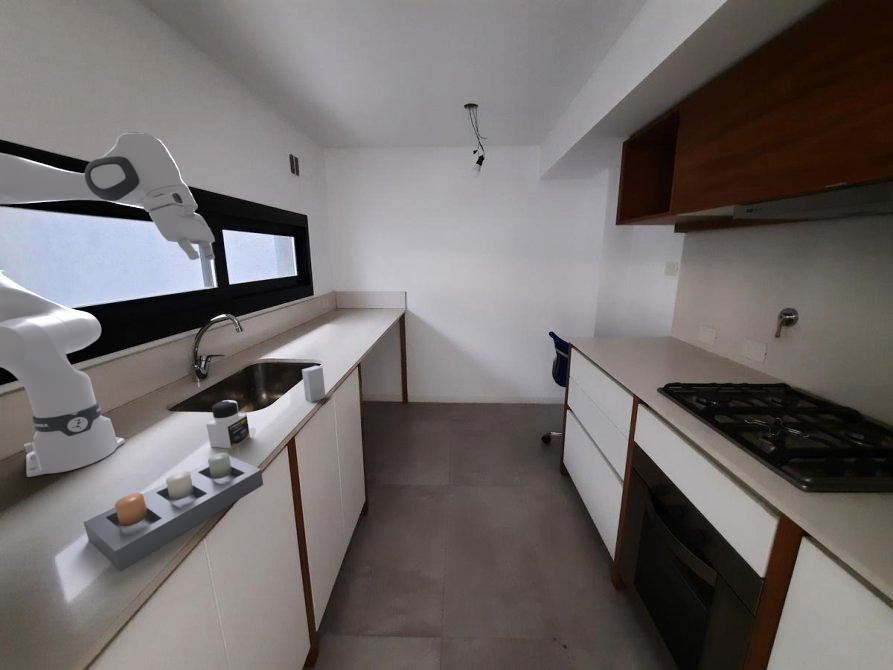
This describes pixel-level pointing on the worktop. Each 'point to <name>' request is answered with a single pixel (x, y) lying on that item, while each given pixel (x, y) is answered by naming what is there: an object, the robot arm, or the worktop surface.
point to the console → (170, 513)
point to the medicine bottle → (227, 425)
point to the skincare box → (313, 383)
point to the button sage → (219, 465)
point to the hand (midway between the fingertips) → (203, 259)
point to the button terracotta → (131, 509)
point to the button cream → (179, 485)
